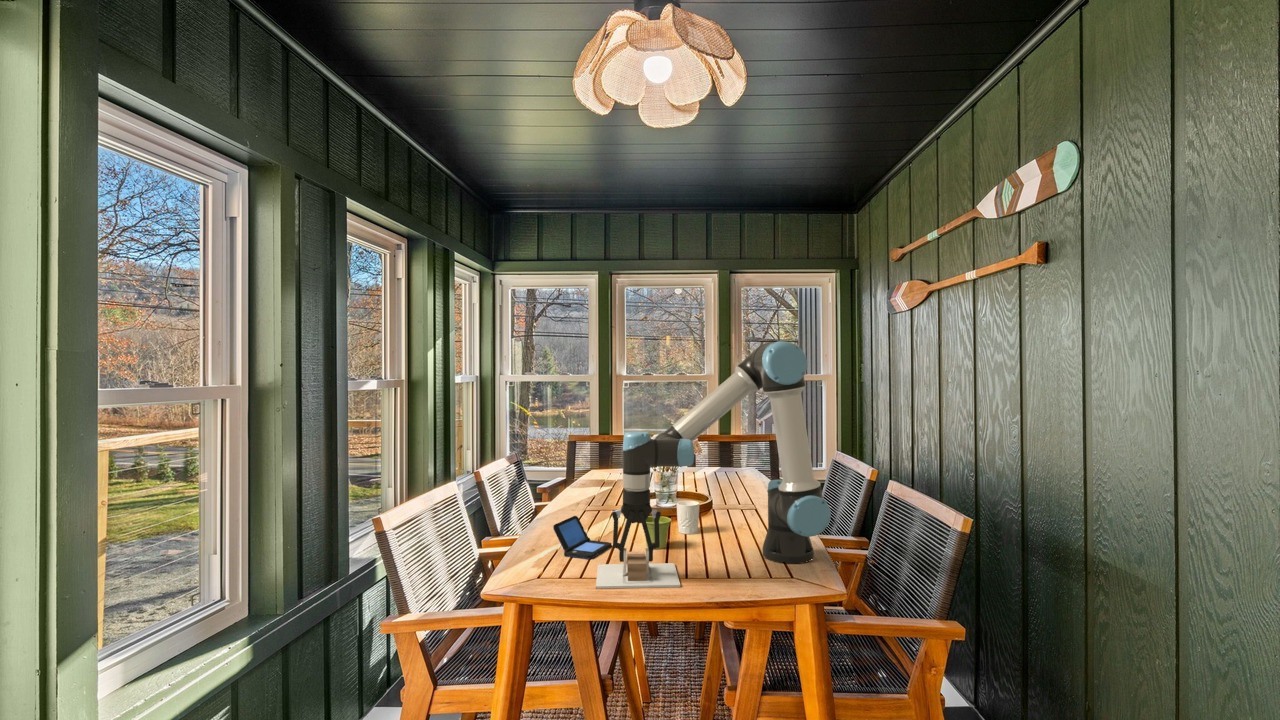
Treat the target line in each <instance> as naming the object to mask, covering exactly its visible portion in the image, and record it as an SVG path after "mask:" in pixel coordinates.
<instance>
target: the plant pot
mask: <svg viewBox="0 0 1280 720" xmlns="http://www.w3.org/2000/svg"><path fill="white" fill-rule="evenodd" d="M671 522H672V518H670V517H667V516H663V515H662V516H660V519H659V541H660V547H659V548H655V549H656V550H660V549H664V548H666V546H667V540H668V531H669V527H670V523H671ZM646 523H647V527H648V530H649V534H650V538H651V541H652V543H654V542H655V535H654V518H653V516H652V515H649V516H648V518H647V519H646ZM645 542H646V543H645V544H646V548H648V544H647V541H646V540H645Z"/></svg>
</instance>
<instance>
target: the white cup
mask: <svg viewBox="0 0 1280 720" xmlns="http://www.w3.org/2000/svg"><path fill="white" fill-rule="evenodd" d="M676 518H677V526H678V527H677V528H678V529H677V530H678V533H679V534H682V535H695V534H697V533H699V521H700V519H699V518H700V502H698V501H696V500H680V501H679V500H678V501H677V502H676Z"/></svg>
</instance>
